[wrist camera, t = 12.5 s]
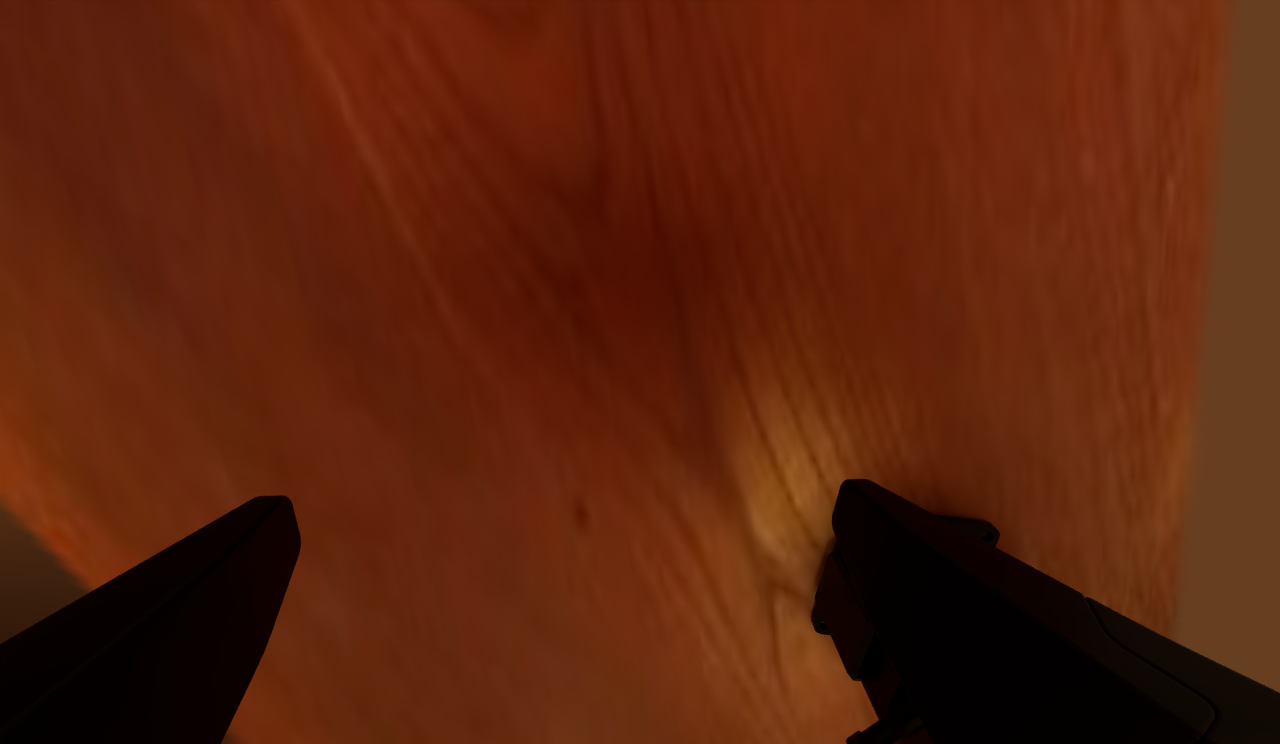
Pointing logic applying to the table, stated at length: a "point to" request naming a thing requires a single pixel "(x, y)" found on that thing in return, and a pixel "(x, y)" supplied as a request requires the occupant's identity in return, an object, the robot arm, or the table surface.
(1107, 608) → the robot arm
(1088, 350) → the table surface
